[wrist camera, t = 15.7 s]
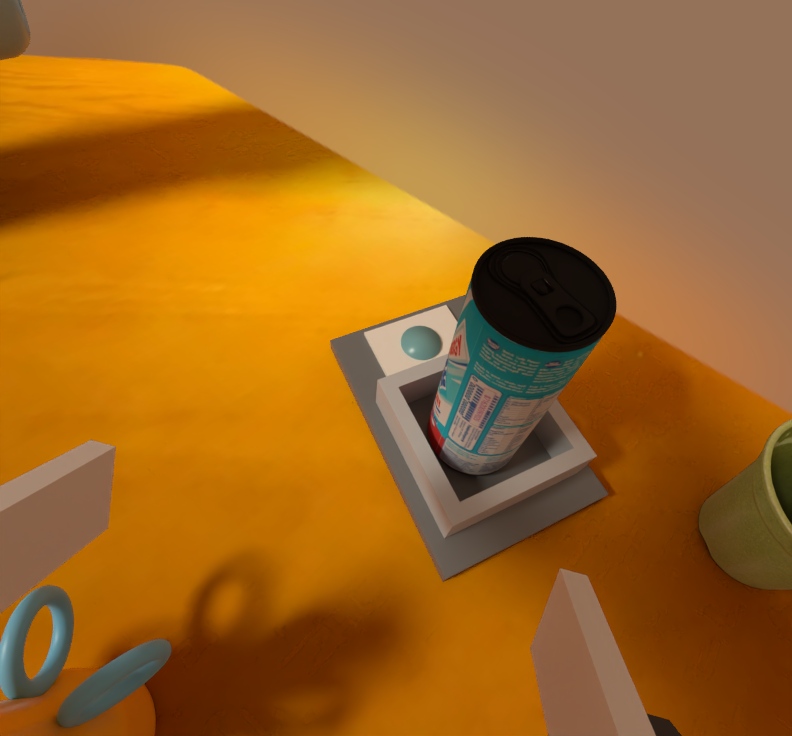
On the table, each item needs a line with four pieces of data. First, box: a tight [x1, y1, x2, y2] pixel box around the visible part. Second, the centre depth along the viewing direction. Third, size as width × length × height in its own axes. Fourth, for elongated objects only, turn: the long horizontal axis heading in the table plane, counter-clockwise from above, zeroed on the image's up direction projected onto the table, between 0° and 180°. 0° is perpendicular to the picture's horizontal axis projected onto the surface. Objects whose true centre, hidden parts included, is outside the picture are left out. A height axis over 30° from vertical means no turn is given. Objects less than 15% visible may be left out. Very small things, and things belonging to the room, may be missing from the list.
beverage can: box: [428, 237, 616, 475], centre depth 26 cm, size 6×6×15 cm
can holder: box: [330, 295, 608, 581], centre depth 32 cm, size 18×12×4 cm, turn 25°
